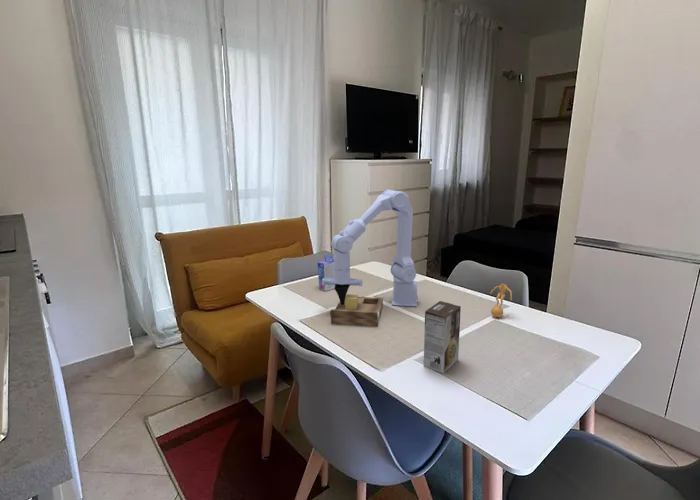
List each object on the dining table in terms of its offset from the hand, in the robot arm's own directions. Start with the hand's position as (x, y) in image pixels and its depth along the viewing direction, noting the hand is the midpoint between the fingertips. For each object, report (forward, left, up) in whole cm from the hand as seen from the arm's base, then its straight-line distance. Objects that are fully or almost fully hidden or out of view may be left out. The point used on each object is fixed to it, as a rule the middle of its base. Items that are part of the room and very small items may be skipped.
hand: (342, 303), depth 137 cm
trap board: (-6, 0, -3) cm, 7 cm away
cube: (-3, 0, -1) cm, 3 cm away
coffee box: (-33, +31, -4) cm, 46 cm away
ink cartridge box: (+11, -27, -4) cm, 29 cm away
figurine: (-55, -4, -4) cm, 56 cm away
